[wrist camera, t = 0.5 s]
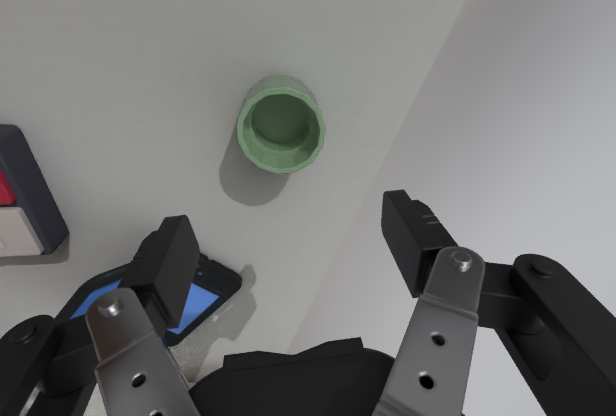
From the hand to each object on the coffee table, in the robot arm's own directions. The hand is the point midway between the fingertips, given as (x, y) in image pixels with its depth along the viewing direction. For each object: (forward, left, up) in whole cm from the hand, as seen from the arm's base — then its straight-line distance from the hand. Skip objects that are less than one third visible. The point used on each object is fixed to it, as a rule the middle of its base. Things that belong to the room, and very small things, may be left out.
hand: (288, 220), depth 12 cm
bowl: (0, 0, -15) cm, 15 cm away
